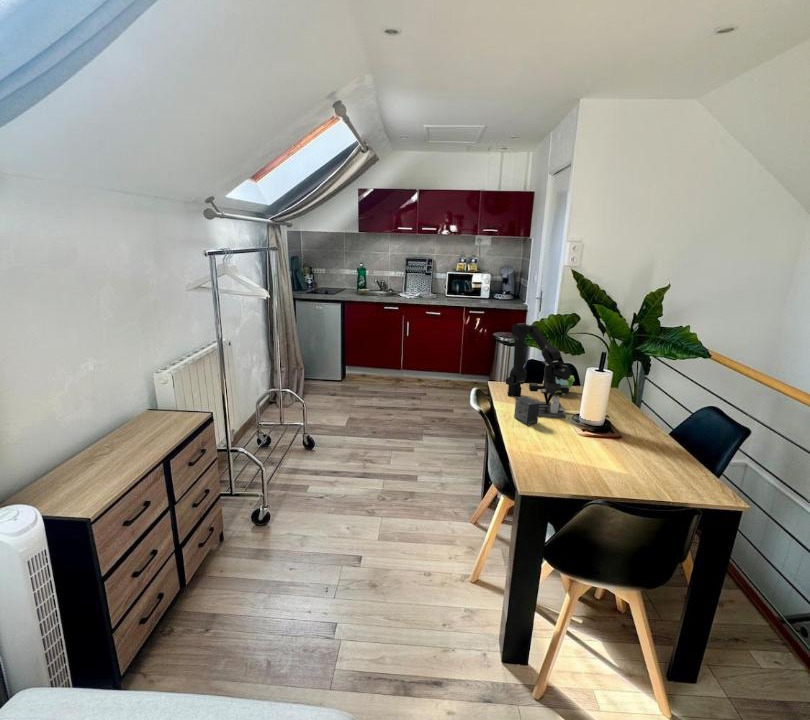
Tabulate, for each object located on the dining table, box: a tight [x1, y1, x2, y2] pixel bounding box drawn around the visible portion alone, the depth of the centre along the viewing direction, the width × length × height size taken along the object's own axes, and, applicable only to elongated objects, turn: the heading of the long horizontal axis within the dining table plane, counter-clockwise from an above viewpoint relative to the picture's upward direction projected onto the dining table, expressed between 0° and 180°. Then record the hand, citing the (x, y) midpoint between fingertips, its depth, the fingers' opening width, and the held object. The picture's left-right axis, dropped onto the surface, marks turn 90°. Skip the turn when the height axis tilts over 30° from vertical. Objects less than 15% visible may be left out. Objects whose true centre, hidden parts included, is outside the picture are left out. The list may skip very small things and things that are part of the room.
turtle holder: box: [542, 374, 576, 396], centre depth 258 cm, size 12×18×12 cm
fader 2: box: [550, 400, 558, 414], centre depth 223 cm, size 3×3×5 cm
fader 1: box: [551, 395, 561, 408], centre depth 231 cm, size 3×3×5 cm
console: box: [535, 400, 567, 419], centre depth 230 cm, size 15×18×2 cm
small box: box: [513, 396, 540, 426], centre depth 215 cm, size 11×6×10 cm, turn 22°
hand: (547, 404), depth 232 cm, fingers closed
